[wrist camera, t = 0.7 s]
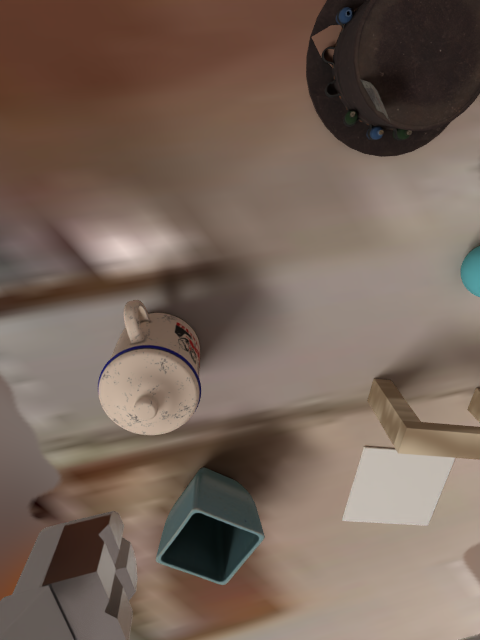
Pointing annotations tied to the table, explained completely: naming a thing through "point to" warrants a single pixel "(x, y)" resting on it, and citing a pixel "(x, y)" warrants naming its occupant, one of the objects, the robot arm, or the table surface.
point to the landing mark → (396, 487)
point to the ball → (472, 271)
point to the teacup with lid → (151, 373)
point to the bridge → (423, 426)
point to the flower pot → (211, 528)
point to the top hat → (395, 71)
